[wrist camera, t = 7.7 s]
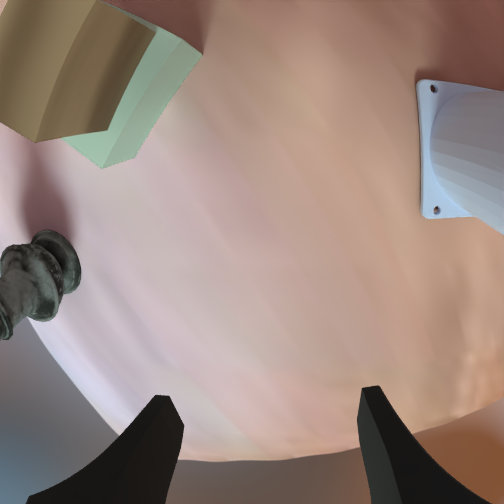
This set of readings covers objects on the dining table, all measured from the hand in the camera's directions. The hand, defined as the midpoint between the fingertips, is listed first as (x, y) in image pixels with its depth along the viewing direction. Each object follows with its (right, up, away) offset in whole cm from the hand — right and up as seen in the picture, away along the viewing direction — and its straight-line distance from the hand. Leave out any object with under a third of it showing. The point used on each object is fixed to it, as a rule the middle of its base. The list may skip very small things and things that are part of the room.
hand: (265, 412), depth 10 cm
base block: (-8, +16, +4) cm, 18 cm away
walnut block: (-8, +15, +1) cm, 17 cm away
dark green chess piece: (-15, +5, +10) cm, 19 cm away
